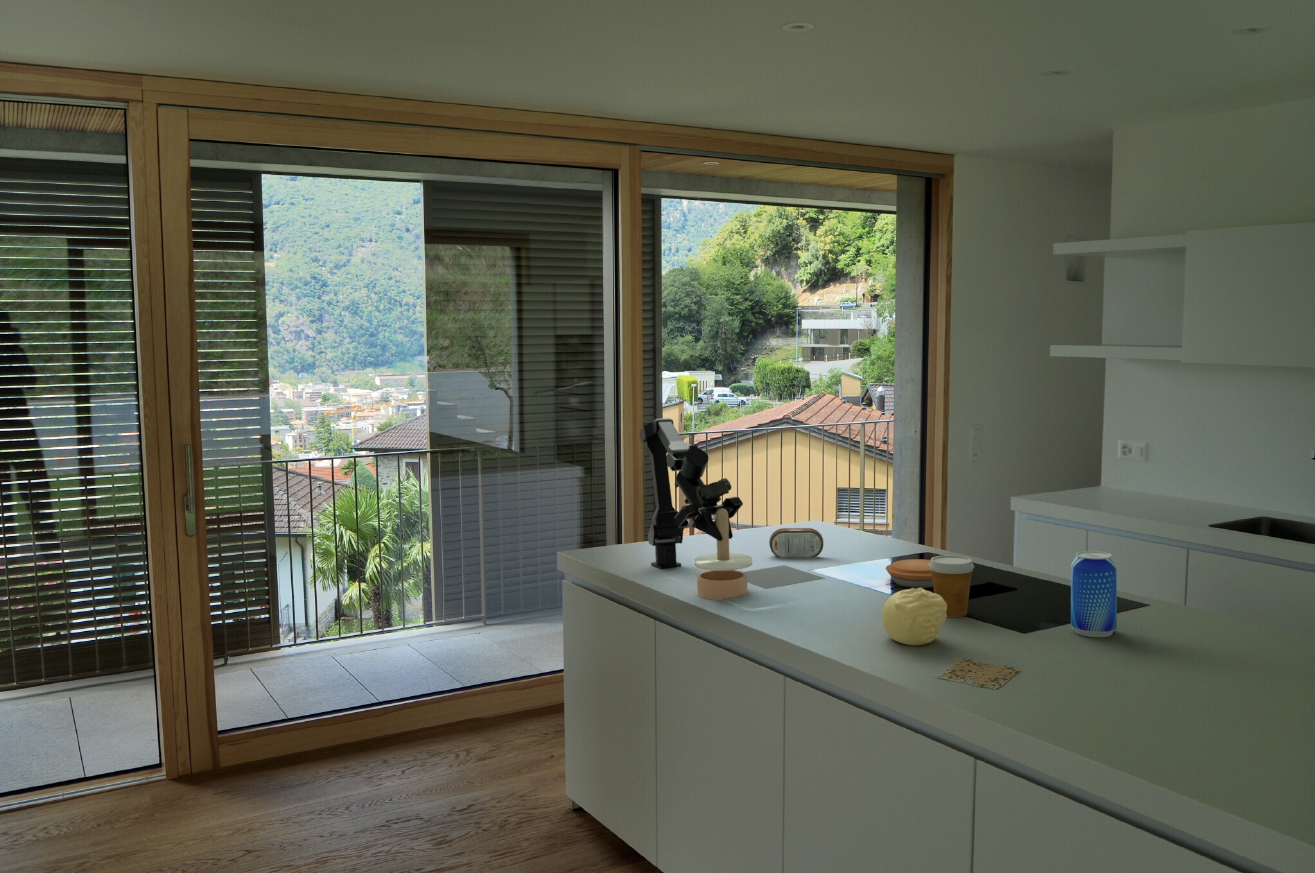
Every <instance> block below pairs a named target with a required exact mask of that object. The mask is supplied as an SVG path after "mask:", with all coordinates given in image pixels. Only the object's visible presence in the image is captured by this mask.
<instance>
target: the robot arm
mask: <svg viewBox="0 0 1315 873" xmlns="http://www.w3.org/2000/svg"><path fill="white" fill-rule="evenodd" d="M674 425H675V424H674V419H672V418H669V417H665V418H656V419H654V420H652V421H651V422H649V423H647V424H644V425H643V426H642V428H641V429H640V431H639V439H640V442H641V443H642V448H643V451H645V453H646V454H647V456H648V457H649V458H650V459H649V460H650V467H651V474H652V476H651V477H652V484H653V493H654V503H655V509H654V513H653V515H652V517H651V524H650V527H649V530H648V533H647V539H648V540H647V542H648V544H649V545H651V546H652V547H654V548H655V552H654V554H655V561H654V562H653V561H652V562H650V565H652V566H654V567H657V568H658V569H667V568H673V567H679V566H680V567H681V566H682V563H681V562H679V561H677V547H676V545H677V544H683V541H684V539H683V538H684V528H687V527H688V525H689V521H688V520H691V519H692V520H693V521H692V522H693V524H692V525H691V528H693V529H697V530H699V531H701V532H703V533H705V534H707V535H708V536H710V537H711V538H714V539H715V540H716V541H717V540H719V541H722V539H723V538H722V535H721V533H720V532H719V530H718V528H717V527H716V512H717V510H718V509H721V508H723V509H726V510H727V512H728V525H729V540H732V538H733V537H734V535H733V531H732V527H731V526H732V525H731V521H730V519H732V518H733V517H735V515H736V514H737V512H738V511H739V510H740V509H741V508H742V506H744V502H743V501H742V499H741V498H740V497H739V496H731V497H726V498H724V499H723V502H721V504H718V503H719V502H720V501H721V500H722V498H721V497H723V496H724V495H727V494H729V493H730V491H731V490H732V484H731V482H730V481H729V480H728V478H725V477H724V478H721V479H720V480H718V481H715V482H714V481H713V482H710V483H708V484H705V482H704V481H703V480H702V477H703V476H704V473H705V472H706V468H707V465H708V463H709V455H708V453H706V451H705V450H704V449H702V448H699V446H698V445H697V444H690V443H688V442H684V440H683V438H682V437H681V435H680V433H679V431H678V430H677V429H676V427H675V426H674ZM669 469H670V470H671V472H678V473H677V474H676V476H675V477H674V479H675V481H674V487H675V488H679V489H680V491H681V492H682V494H683V495H684V497H685V499H684V503H685V504H686V505H683V506H682V507H681V508H680V510H677V509H675V508H674V507H673V500H672V491H671V489H672V488H671V484H670V474H669ZM713 518H714V520H713Z"/></svg>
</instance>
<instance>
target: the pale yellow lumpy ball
mask: <svg viewBox="0 0 1315 873" xmlns="http://www.w3.org/2000/svg"><path fill="white" fill-rule="evenodd" d="M946 611H947V604H946V602H945V601H944V599H943V598H942V597H941V596H940V595H938V594H935V593H934V592H932V591H929V590H926V589H925V588H912V587H911V588H909V589H907V588H906V589H902V590H900V591H896V592H895V593H893V594H892V595H891V596H889V598H887V600H886V602H885V603H884V605H883V608H882V611H881V612H882V613H881V620H882V626H883V628H884V631H885V633H886V635H887V636H888V637H889V638H891V639H892V640H894V641H896V642H898V643H900V644H904V645H907V646H923V645H928V644H931V643H932V642H933V641H934V640H935V639H936V638H937V636H938V635H939V634H940V631H941V629H942V627H943V624H944V623H945V622H946V621H947V618H948V617H947V614H946Z"/></svg>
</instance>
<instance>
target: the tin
mask: <svg viewBox="0 0 1315 873" xmlns="http://www.w3.org/2000/svg"><path fill="white" fill-rule="evenodd" d="M768 542H769V544H768V545H769V547H770V548H769V549H770V551H771V553H772V554H773V555H774V556H775V557H777V558H816V557H819V555H820V554H821V553H822V551H823V549H824V538H823V536H822V534H821V533H820V532H819V531H818V530H816V529H815V528H812V527H811V528H810V527H800V528H799V527H798V528H796V527H791V528H789V527H788V528H787V527H785V528H784V527H783V528H779V529H776V530H775V531H773V532H772V534H771V535H770V537H769V541H768Z"/></svg>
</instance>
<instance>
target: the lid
mask: <svg viewBox="0 0 1315 873" xmlns="http://www.w3.org/2000/svg"><path fill="white" fill-rule="evenodd" d="M715 520H716V527H717V528H718V530H719V532H720V533H721V535H722V538H723V539H722V541H719V540H717V539H716V552H714V553H707V554H702V555H699V556H697V557H695V558H694V566H695V567H696V568H698V569H701V570H705V571H711V570H714V571H728V570H737V571H739V570H743V569H746V568H750V567H751V566H753V557H752V556H750V555H747V554H743V553H737V552H730V539H729V525H728V512H727V510H726V509H723V508H721V509H718V510H717V512H716V519H715Z"/></svg>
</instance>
